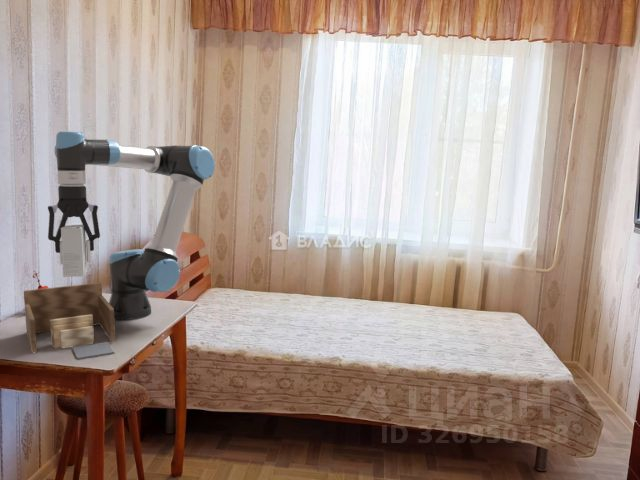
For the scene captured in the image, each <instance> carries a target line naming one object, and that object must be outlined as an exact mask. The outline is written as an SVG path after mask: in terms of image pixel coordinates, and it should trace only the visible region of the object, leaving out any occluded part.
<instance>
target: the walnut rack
mask: <svg viewBox="0 0 640 480" xmlns="http://www.w3.org/2000/svg"><path fill="white" fill-rule="evenodd" d="M102 288H103V287H102V283H101V282H93V283H87V284H86V283H85V284H84V283H83V284H76V285H75V284H74V285H65V286H57V287H48V288H45V289H38V288H37V289H28V290H26V289H25V290H23V300H24V314H25V315H24V316H25V317H24V318H25V326H26V327H25V329H26V330H25V331H26V335H27V339H28V343H29V346H30V347H29V348H30V349H31V350H30V351H31V353H33V352H35V353H37V352H38V351H37V337H36V334H38V333H43V332H51V329H50V320H52V319H59V318H67V317H75V316H82V315H90V314H92V315H93V326H96V325H100V327H101V329H103V331H104V332H105V334H106V335H107V336H108V338H109V340H110V341H112V342H113V341H116V327H115V326H116V323H115V319H114V309H113V308H112V306H111V305H110V304H109V301H108V300H107V299H106V298H105V297H104V296H103V291H102V290H103V289H102Z"/></svg>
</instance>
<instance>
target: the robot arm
mask: <svg viewBox="0 0 640 480" xmlns="http://www.w3.org/2000/svg"><path fill="white" fill-rule="evenodd" d="M55 137H56V138H55V147H54V156H55V157H56V167H57V184H59V186H58V188H57V189H58V190H57V191H58V202H57V203H56V204H54V205H48V206H47V210H48V213H49V214H48V215H49V216H48V229H47V230H48V232H47V239H48V240H49V241H53V242H54V247H55V252H56V253H59V264H60V265H62V240H61V228H62V227H65V224H67V221H68V218H73V217H75V218H79V219H80V222H81V224H83V225H84V228H85V231H86V236H87V238H88V239H87V240H86V250H87V263H91V252H92V251H94V250H95V240H96V239H100V237H101V234H100V233H101V232H100V225H99V219H98V215H97V214H98V209H99V206H98V205H97V204H91V203H89V202H88V200H87V199H88V198H87V187H86V185H85V184H86V183H87V182H86V165H87V166H88V165H91V166H99V167H100V166H101V167H114V168H124V169H125V168H126V169H135V170H136V169H137V170H144V171H145V172H147V173H149V174H150V173H151V174H158V175H162V176H166V177H170V179H171V181H172V183H171V185H170V186H171V187H170V189H169V191H168V195H167V198H166V201H165V204H164V206H163V209H162V213H161V216H160V217H159V221H158V223H157V226H156V230H155V231H154V232H155V233H154V235H153V239H152V240H151V244H150V245H148V246H146V247H144V250H143V249H142V248H141V249H140V248H138V249H137V248H136V249H128V250H120V251H115V252H113V253H111V254H110V256H109V264H108V265H109V276H110V277H109V278H110V292H111V294H110V298H109V301H108V303H109V304H110V305H111V306H112V308H113V309H114V320H122V321H123V320H124V321H125V320H133V319H134V320H137V319H140V318H144V317H147V316H150V315H151V314H152V306H151V303H150V300H149V298H148V295H147V292H146V291H150V292H151V293H152V292H153V293H166V292H169V291H170V290H172V289H173V288H174V287H175V286H176V285H177V284H178V282H179V280H180V277H181V276H180V275H181V270H180V265H179V263H178V260H179V257H178V255H177V252H176V251H177V248H178V245H179V242H180V241H181V237H182V234H183V231H184V227H185V225H186V222H187V220H188V216H189V212H190V209H191V206H192V204H193V201H194V197H195V195H196V192H197V190H199V189H201V188H202V187H203V183H204V181H205V180H208V179H210V178H211V177H212V176H213V175H214V172H215V168H216V162H215V159H214V155H213V153H212V152H211V150H209V148H208V147H206V146H203V145H202V146H201V145H196V144H195V145H166V146H165V145H164V146H153V145H150V146H147V147H139V146H138V147H137V146H130V145H121V144H119V143H117V141H115V140H111V139H87V138H85V134H84V133H83V132H82V131H81V132H80V131H58V132H57V133H56V136H55ZM58 209H59V210H60V212H61V213H62V216H61V220H60V222H59V226H58V228H57V231H56V234H55V235H54V228H55V227H54V226H55V213H57V210H58ZM87 209H88V210H89V211H90V213H91V218H92V219H91V220H92V225H93V233H94V234H93V233H92V231H91V229H90V226H89V224H88V221H87V219H86V216H85V214H84V213H85V212H86V210H87Z"/></svg>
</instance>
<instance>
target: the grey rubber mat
mask: <svg viewBox="0 0 640 480" xmlns="http://www.w3.org/2000/svg"><path fill="white" fill-rule="evenodd" d="M72 351H73V353H74V355H75V357H76V359H77V360H83V359H89V358H95V357H101V356H108V355H114V354H115V351H114V349H113V348H112V346H111V344H110V343H109V342H108V341H105V342H99V343H93V344H87V345H80V346H74V347H72Z"/></svg>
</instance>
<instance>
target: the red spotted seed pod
mask: <svg viewBox="0 0 640 480" xmlns="http://www.w3.org/2000/svg"><path fill="white" fill-rule="evenodd" d="M33 272H34V273H32V278H33V279H35V278H36V279H37V283H38V286H37V289H45V288H49V286H48V285H42V284H41V282H40V281H41V280H40V278H39V277H38V274H39V273H40V272H38V273H37V272H36V271H35V270H33Z"/></svg>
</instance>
